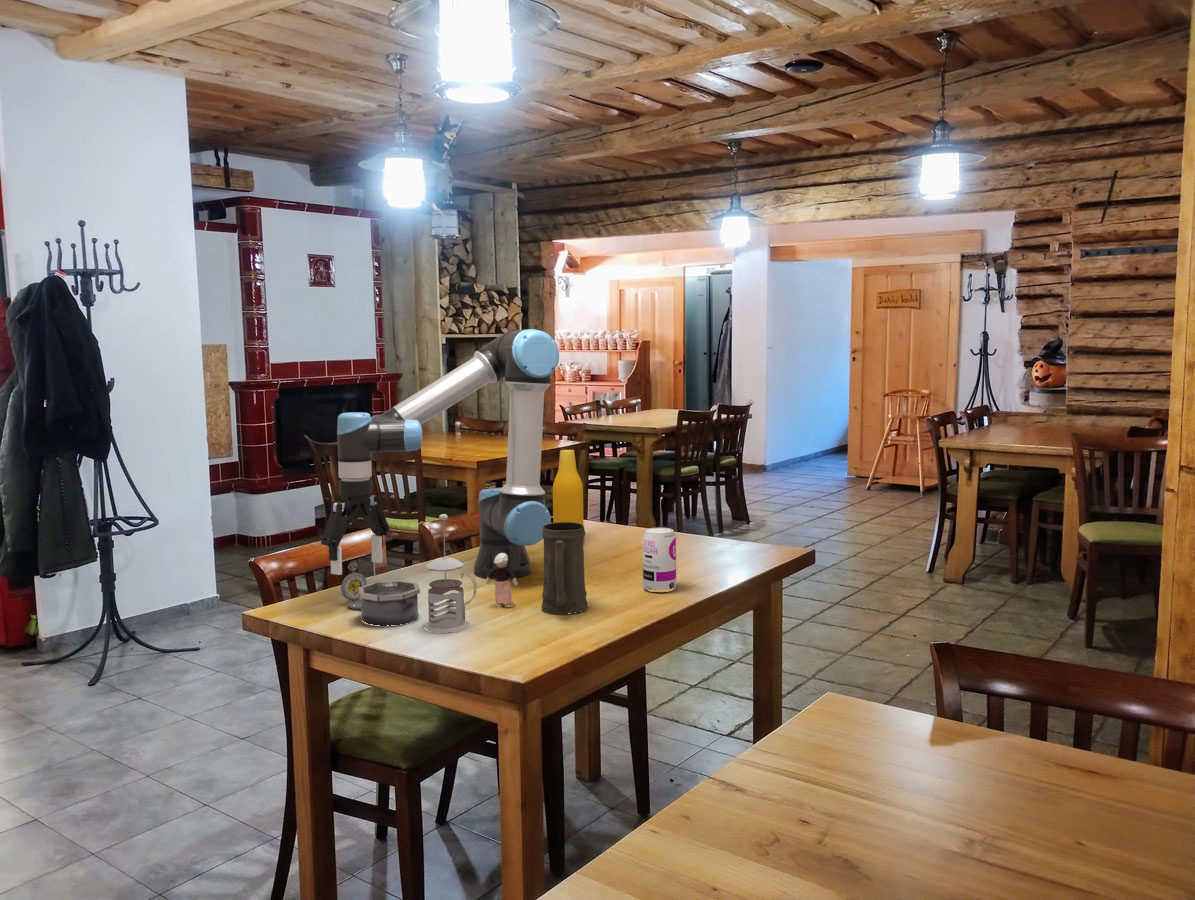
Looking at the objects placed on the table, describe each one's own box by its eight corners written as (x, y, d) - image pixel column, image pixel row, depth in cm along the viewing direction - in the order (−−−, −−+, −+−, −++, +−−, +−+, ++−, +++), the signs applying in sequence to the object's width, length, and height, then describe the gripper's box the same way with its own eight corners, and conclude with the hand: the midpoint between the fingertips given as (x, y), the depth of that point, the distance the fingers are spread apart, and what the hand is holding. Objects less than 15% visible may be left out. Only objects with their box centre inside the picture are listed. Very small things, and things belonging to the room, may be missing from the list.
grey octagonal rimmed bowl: (417, 608, 224) (416, 578, 223) (422, 624, 211) (421, 593, 210) (359, 613, 220) (357, 583, 219) (361, 629, 207) (360, 598, 206)
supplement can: (679, 586, 240) (679, 528, 238) (671, 595, 232) (671, 534, 230) (648, 584, 243) (648, 526, 241) (639, 592, 235) (638, 532, 233)
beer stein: (540, 601, 227) (539, 520, 224) (585, 600, 228) (584, 519, 225) (542, 625, 212) (541, 538, 209) (590, 623, 213) (589, 537, 210)
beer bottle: (583, 549, 284) (582, 452, 280) (552, 549, 284) (550, 452, 280) (584, 542, 293) (583, 448, 289) (554, 542, 293) (552, 449, 290)
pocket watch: (369, 611, 221) (368, 569, 220) (336, 609, 223) (334, 567, 222) (384, 601, 229) (382, 561, 228) (352, 600, 231) (350, 559, 230)
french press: (430, 619, 215) (427, 509, 212) (481, 620, 213) (478, 510, 211) (418, 632, 205) (414, 518, 202) (471, 633, 204) (468, 518, 201)
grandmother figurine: (519, 603, 226) (518, 551, 225) (518, 608, 223) (517, 554, 221) (486, 604, 226) (485, 551, 225) (485, 608, 222) (483, 555, 221)
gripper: (379, 471, 235) (381, 556, 238) (303, 484, 214) (306, 577, 216) (403, 473, 232) (404, 559, 234) (328, 486, 210) (330, 581, 212)
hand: (357, 568), depth 225 cm, fingers open, 13 cm apart
